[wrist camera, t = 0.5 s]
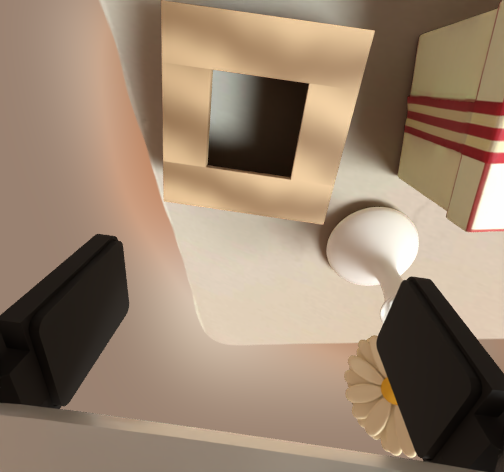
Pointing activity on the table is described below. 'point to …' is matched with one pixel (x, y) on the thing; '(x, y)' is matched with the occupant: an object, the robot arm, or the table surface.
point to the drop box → (264, 65)
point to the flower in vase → (388, 276)
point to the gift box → (459, 121)
